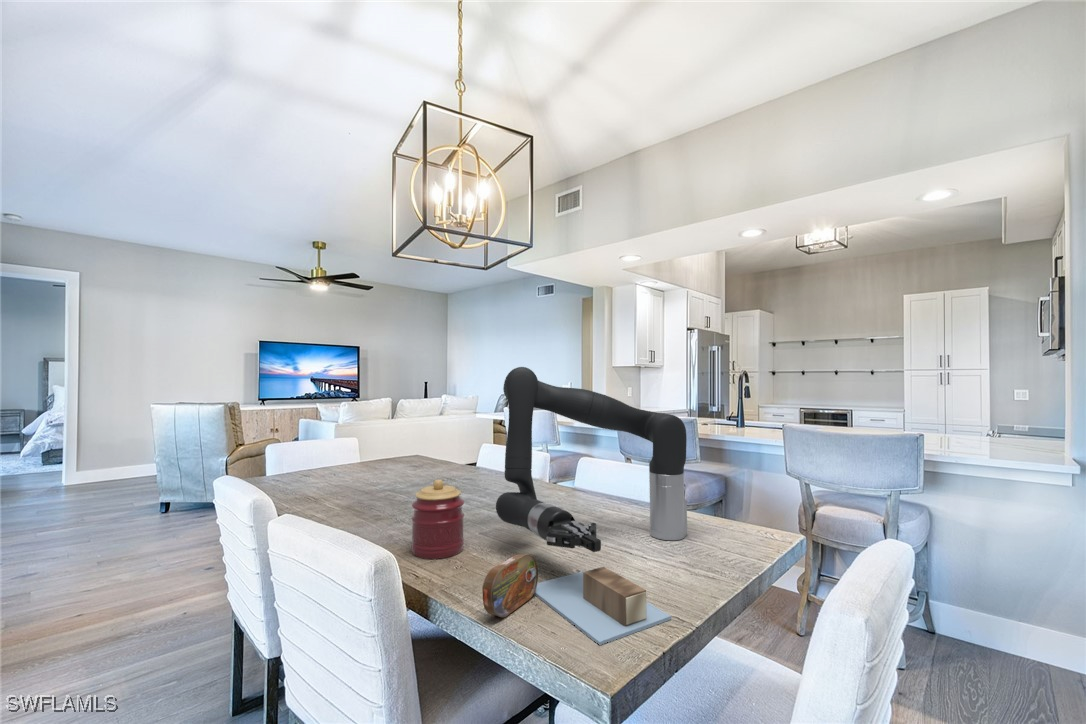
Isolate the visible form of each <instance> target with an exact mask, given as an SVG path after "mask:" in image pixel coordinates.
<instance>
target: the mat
mask: <svg viewBox="0 0 1086 724" xmlns="http://www.w3.org/2000/svg"><path fill="white" fill-rule="evenodd" d="M589 570H590V569H587V570H584V571H580V572H576V573H572V574H567V575H563V576H560V577H556V578H552V579H549V580H544V581H542V582H537V587H536V590H535V592H534V594H533V596H535V597H537V598H538V599H539V600H540V601H542V602H543V603H545V604H546V605H547V606H548V607H549V608H551V609H552V610H553V609H554V610H553V611H554V612H556V613H557V614H558V613H559V614H558V615H560V616H561V617H562V618H564V619H565V620H566V621H567V622H569V624H571V623H572V624H571V625H572V626H574V625H575V626H574V627H575V628H576V627H577V628H576V629H578V630H579V631H580V630H581V631H582V632H581V631H580V632H581V633H583V634H584V635H585V636H586V637H588V638H589V639H590V638H591V641H593V642H594V641H595V642H596V644H597V643H598V644H599V645H600V646H602V645H601V644H603V645H605V644H604V643H606V644H608V643H611V642H614V641H616V639H617V640H619V639H622V638H624V637H628V636H630V635H633V634H635V633H638V632H641V631H643V630H646V629H649V628H652V627H654V626H657V625H659V624H662V623H665V622H667V621H670V620H672V615H671V614H669V613H667V612H665V611H663V610H661V609H660V608H658V607H657V606H654V605H653V604H651V603H649V602H648V601H646V619H645V620H642V621H639V622H636V623H633V624H630V625H628V626H625V627H624V626H623V625H622V624H620V623H619V622H617V621H616V620H614V619H613V618H611V617H610V616H608V615H607V614H605V613H604V612H602V611H601V610H599V609H598V608H596V607H595V606H594V605H592V604H591V603H589V602H588V601H586V600H585V599H583V572H585V571H589ZM613 640H614V641H613ZM610 641H611V642H610ZM595 642H594V643H595ZM607 642H608V643H607ZM598 644H597V645H598ZM599 645H598V646H599Z"/></svg>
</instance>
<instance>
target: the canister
mask: <svg viewBox="0 0 1086 724" xmlns="http://www.w3.org/2000/svg"><path fill="white" fill-rule="evenodd" d="M444 484H445V483H444V481H443V480H442V479H435V480H434V481H433V483H432V485H428V486H424V487H423V488H421V489H420V490H419V491H418V492H416V493H415V495H414V496H415V498H416V500H415V501H412V503H411V507H412V509H413V515H412V516H411V521H412V522H411V532H412V533H411V535H412V536H411V544H410V545H411V550H412V554H413V555H414V556H416V557H418V558H422V559H426V560H427V559H429V560H431V559H432V560H433V559H434V560H435V559H443V558H448V557H452V556H455V555H457V554H460V552H462V551H463V550H464V545H465V537H464V517H465V513H464V512H463V506H464V504H465V500H464V499H463V498H461V494H462V491H461V490H459V489H457V488H456V487H455V486H453V485H447V484H446V485H444Z"/></svg>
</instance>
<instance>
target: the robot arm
mask: <svg viewBox="0 0 1086 724" xmlns="http://www.w3.org/2000/svg"><path fill="white" fill-rule="evenodd" d="M502 389H503V394H504V396H505V397H506V399H507V402H508V425H507V434H506V435H507V436H506V444H505V454H504V456H505V457H504V480H506V482H508V483H513V484H515V485H517V487H518V490H519V492H518V491H516V492H514V491H508V492H504V493H501V494H500V495H499V496H498V497H497V499H496V502H495V512H496V514H497V516H498V517H499V518H500V520H502V521H503V522H505V523H507V524H509V525H510V524H511V525H514V526H520V527H523V528H525V529H527V530H529V531H530V532H532V533H533V534H535V536H537V537H539V538H540V539H542V540H544V541H546V546H551V547H558V548H567V549H574V548H575V549H576V547H577V548H580V549H583V548H584V549H587V550H588V551H591V552H592V553H598V552H601V550H602V540H601V539H599V538H597V523H596V522H591V523H590V524H588V525H587V526H586V525H584V523H582V522H578V521H576V520H575V517H574V516H573V515H572V513H571V512H569V511H567V510H565V509H563V508H560V507H559V506H558V507H557V506H555V505H553V504H551V503H545V502H543V501H541V500H538V499H537V494H536V490H535V486H534V481H533V475H532V470H533V468H532V466H533V464H532V463H533V417H534V416H533V415H534V409H540V410H544V411H548V412H551V413H554V414H556V415H559V416H562V417H564V418H567V419H571V420H572V421H576V422H579V423H582V424H585V425H588V426H592V427H594V428H598V429H604V430H611V431H619V432H625V433H629V434H631V435H634V436H637V437H640V438H642V439H644V440H646V441H648V442H651V443H652V457H651V459H650V461H649V463H648V465H649V466H648V469H649V470H648V471H649V474H648V475H649V476H648V479H649V535H650V536H652V537H653V538H655V539H658V540H663V541H679V540H683V539H684V538H685V537H686V536H688V504H687V503H688V501H687V500H686V499H685V479H684V478H685V477H684V476H685V475H684V474H685V473H684V471H685V470H684V469H685V465H686V463H687V442H688V441H687V429H686V428H687V427H686V426H685V425H686V424H685V423H684V421H683V420H682V419H681V418H679V416H676V415H673V414H669V413H665V412H655V411H651V410H645V409H640V408H636V407H634V406H631V405H629V404H627V403H624V402H623V401H621V400H618V399H617V398H613V397H611V396H609V395H606V394H602V393H599V392H596V391H593V390H589V389H584V388H575V387H565V386H564V387H562V386H557V385H552V384H549V383H547V382H543V381H540V380H538V377H537V375H536V373H535V372H534V371H533V369H531V368H528V367H525V366H518V367H515V368H513V369H512V370H510V371H509V372H508V374H507V375H506V377H505V379H504V382H503V388H502Z"/></svg>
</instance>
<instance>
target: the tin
mask: <svg viewBox="0 0 1086 724" xmlns="http://www.w3.org/2000/svg"><path fill="white" fill-rule="evenodd" d="M483 580H484V581H483V585H482V602H483V603H482V604H483V608H484V610H485V611H486V612H487V614H489V615H491V616H494V617H495V616H496V617H500V618H506V617H508V616H509V615H511V614H512V613H513V612H515V611H516V610H517V609H519V608H520V607H521V606H523V605H524V604H526V603H527V602H528V601H529V600H531V598H533V596H534V592H535V590H536V587H537V583H539V582H538V581H539V567H538V564H537V561H536V559H535V558H534V556H533V555H531V554H528V553H527V554H523V553H522V554H521V553H519V554H515V555H513V556H512V557H510V558H509V559H508V558H507V559H506V560H504V561H503V562H501V563H499V564H497V565H496V566H494V567H492V568H491V569H490V570H489V571H488V573H487V574H486V575H485V578H484V579H483Z"/></svg>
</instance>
